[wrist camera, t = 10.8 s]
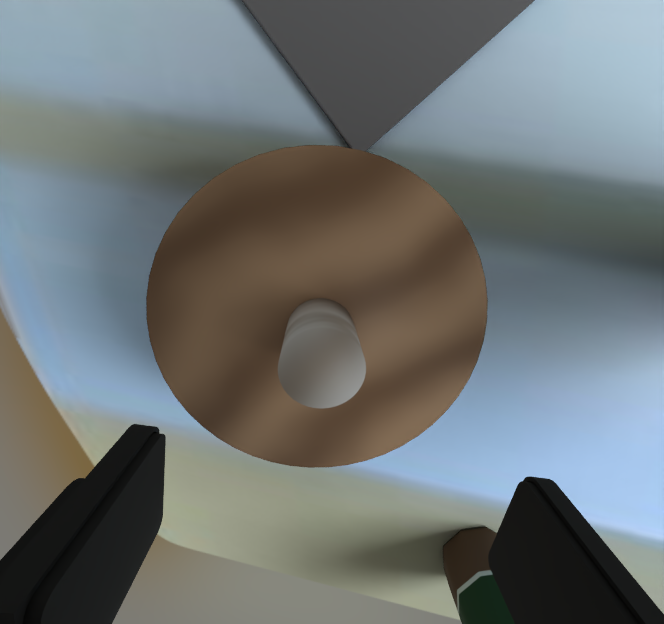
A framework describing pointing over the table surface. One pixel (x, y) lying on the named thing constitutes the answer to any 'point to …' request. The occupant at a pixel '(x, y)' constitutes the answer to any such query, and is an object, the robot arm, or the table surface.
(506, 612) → the beer bottle
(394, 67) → the mat
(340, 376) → the lid
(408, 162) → the table surface
